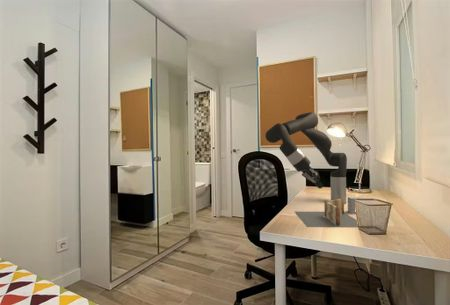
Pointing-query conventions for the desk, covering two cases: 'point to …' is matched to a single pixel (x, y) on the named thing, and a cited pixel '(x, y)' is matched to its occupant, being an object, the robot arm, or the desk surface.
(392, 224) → the desk surface
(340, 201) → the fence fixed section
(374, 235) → the desk surface
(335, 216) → the fence swing section
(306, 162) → the robot arm
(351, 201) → the medicine box
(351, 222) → the board
